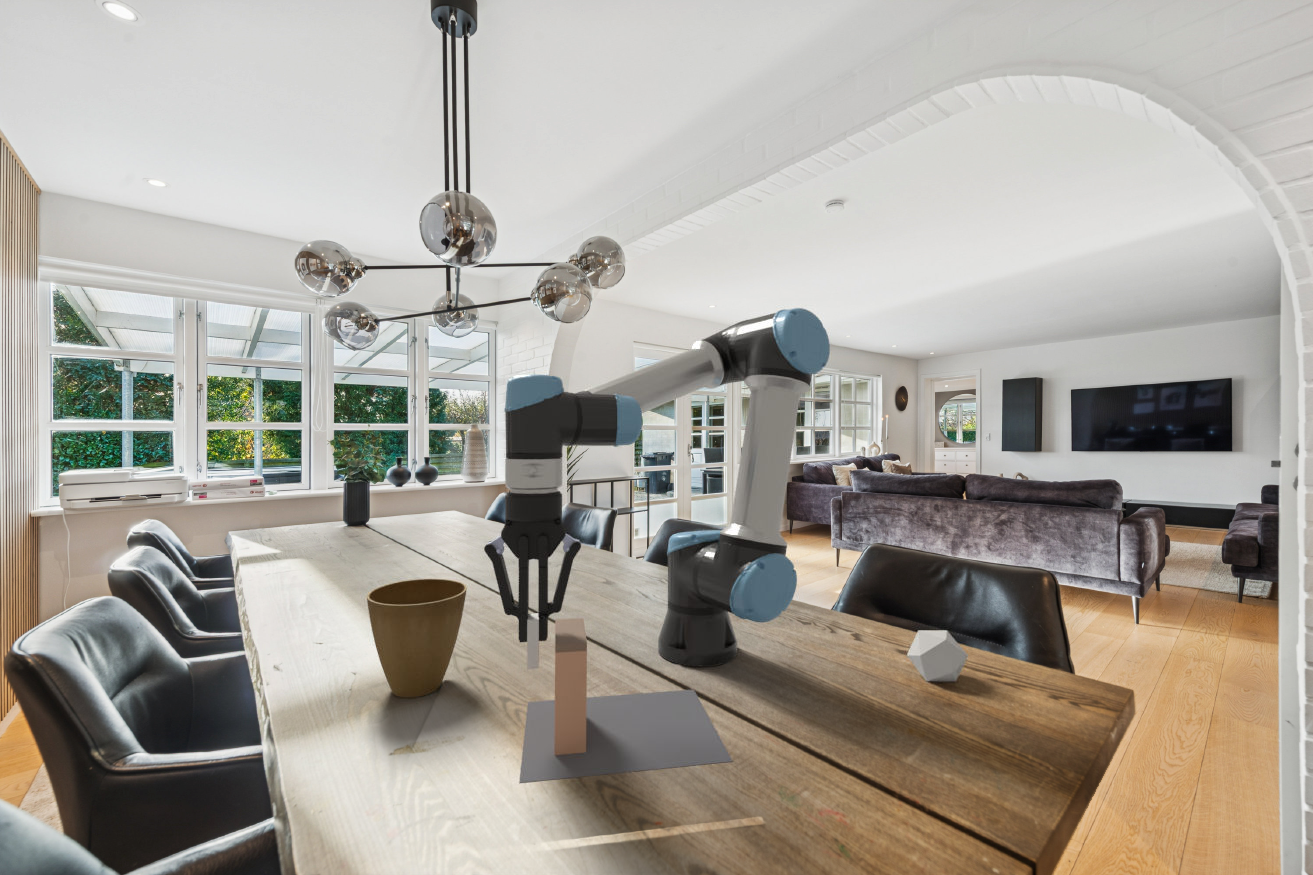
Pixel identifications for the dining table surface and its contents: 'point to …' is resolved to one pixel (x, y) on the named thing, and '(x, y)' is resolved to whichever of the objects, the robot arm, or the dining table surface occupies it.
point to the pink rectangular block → (570, 686)
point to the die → (937, 655)
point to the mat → (624, 737)
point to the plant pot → (416, 631)
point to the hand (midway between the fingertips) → (533, 664)
